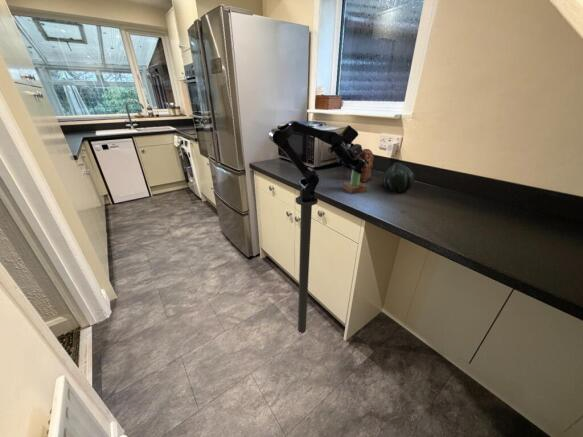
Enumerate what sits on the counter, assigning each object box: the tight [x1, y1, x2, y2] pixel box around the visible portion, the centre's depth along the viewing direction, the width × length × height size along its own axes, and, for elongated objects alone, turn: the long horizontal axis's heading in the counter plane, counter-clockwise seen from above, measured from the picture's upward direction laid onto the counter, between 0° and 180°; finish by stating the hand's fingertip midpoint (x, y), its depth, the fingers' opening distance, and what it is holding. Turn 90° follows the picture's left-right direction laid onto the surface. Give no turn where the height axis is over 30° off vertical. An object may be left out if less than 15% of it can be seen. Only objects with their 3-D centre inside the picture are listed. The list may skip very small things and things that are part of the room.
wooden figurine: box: [355, 148, 375, 183], centre depth 134 cm, size 12×6×18 cm, turn 128°
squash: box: [382, 162, 415, 193], centre depth 122 cm, size 14×15×15 cm
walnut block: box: [341, 181, 368, 195], centre depth 123 cm, size 9×9×3 cm
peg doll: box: [350, 170, 361, 186], centre depth 120 cm, size 4×4×12 cm
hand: (358, 172), depth 120 cm, fingers closed on peg doll, 4 cm apart
